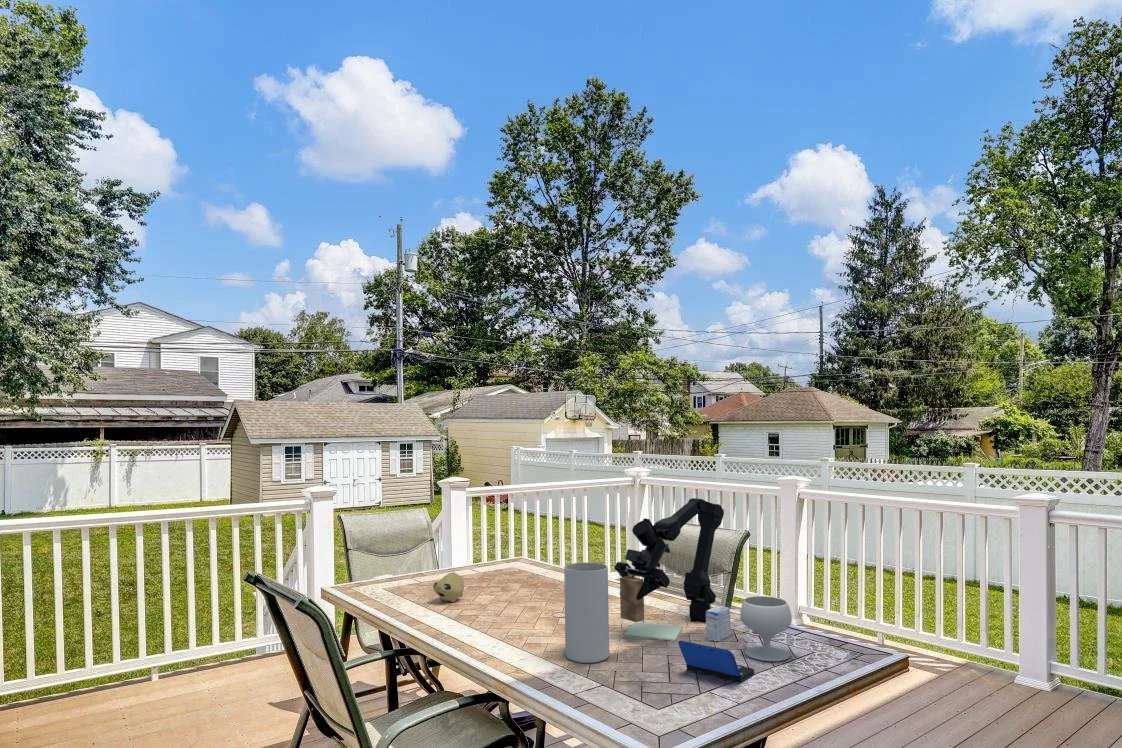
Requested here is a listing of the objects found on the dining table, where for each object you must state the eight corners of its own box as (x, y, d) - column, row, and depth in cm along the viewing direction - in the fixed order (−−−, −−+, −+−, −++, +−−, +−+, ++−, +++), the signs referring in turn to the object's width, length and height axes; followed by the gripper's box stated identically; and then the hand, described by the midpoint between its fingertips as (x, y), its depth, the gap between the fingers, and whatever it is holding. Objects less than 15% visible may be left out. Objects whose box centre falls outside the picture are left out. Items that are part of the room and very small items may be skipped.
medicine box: (717, 633, 209) (716, 605, 210) (731, 636, 206) (730, 607, 207) (706, 639, 203) (705, 610, 204) (719, 642, 200) (718, 613, 201)
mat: (683, 628, 215) (683, 626, 215) (674, 641, 202) (674, 639, 202) (634, 624, 220) (634, 622, 220) (623, 636, 207) (623, 634, 207)
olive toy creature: (428, 603, 250) (428, 574, 251) (448, 596, 260) (449, 569, 261) (448, 607, 245) (448, 577, 246) (469, 599, 255) (469, 571, 256)
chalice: (741, 661, 184) (739, 605, 185) (741, 645, 197) (739, 593, 198) (795, 665, 180) (792, 608, 181) (791, 649, 193) (789, 596, 195)
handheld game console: (756, 674, 174) (755, 638, 175) (733, 690, 164) (732, 651, 165) (702, 661, 185) (701, 627, 185) (677, 675, 174) (676, 639, 175)
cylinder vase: (607, 665, 182) (605, 571, 184) (562, 663, 184) (560, 570, 186) (611, 650, 194) (609, 562, 196) (569, 648, 196) (567, 562, 199)
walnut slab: (644, 619, 201) (643, 579, 202) (636, 622, 199) (635, 581, 200) (628, 615, 206) (627, 576, 207) (620, 617, 204) (619, 577, 205)
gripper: (617, 535, 214) (593, 576, 206) (662, 542, 200) (638, 586, 192) (634, 557, 219) (611, 598, 210) (679, 565, 205) (657, 609, 197)
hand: (628, 597), depth 202 cm, fingers closed on walnut slab, 6 cm apart
